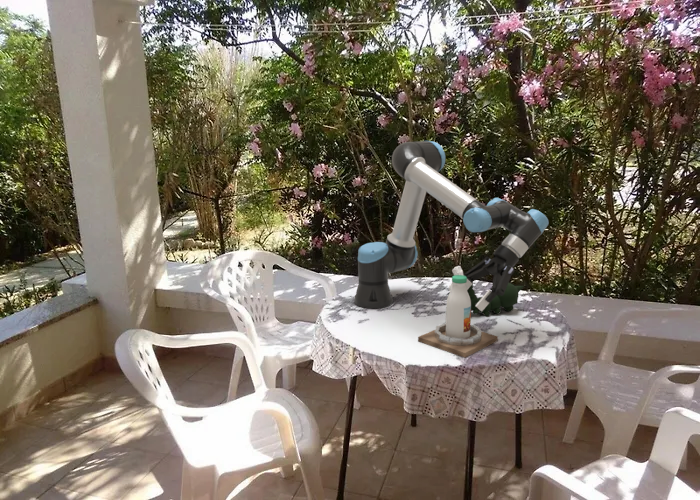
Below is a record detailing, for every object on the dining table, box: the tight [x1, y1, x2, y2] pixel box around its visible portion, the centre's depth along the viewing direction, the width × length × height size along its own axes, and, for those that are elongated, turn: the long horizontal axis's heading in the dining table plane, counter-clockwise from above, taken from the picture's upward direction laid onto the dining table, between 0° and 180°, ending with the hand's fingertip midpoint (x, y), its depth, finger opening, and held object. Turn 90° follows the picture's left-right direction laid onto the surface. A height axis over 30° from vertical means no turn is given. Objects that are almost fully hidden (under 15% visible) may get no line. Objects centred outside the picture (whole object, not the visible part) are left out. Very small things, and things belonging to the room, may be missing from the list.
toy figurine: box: [467, 282, 524, 317], centre depth 192 cm, size 9×19×25 cm
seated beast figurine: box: [448, 265, 464, 293], centre depth 215 cm, size 10×9×12 cm
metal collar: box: [434, 322, 483, 346], centre depth 168 cm, size 14×14×2 cm
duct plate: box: [417, 329, 499, 358], centre depth 168 cm, size 18×18×2 cm
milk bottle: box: [445, 274, 472, 338], centre depth 166 cm, size 8×8×20 cm
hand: (467, 302), depth 166 cm, fingers open, 13 cm apart
